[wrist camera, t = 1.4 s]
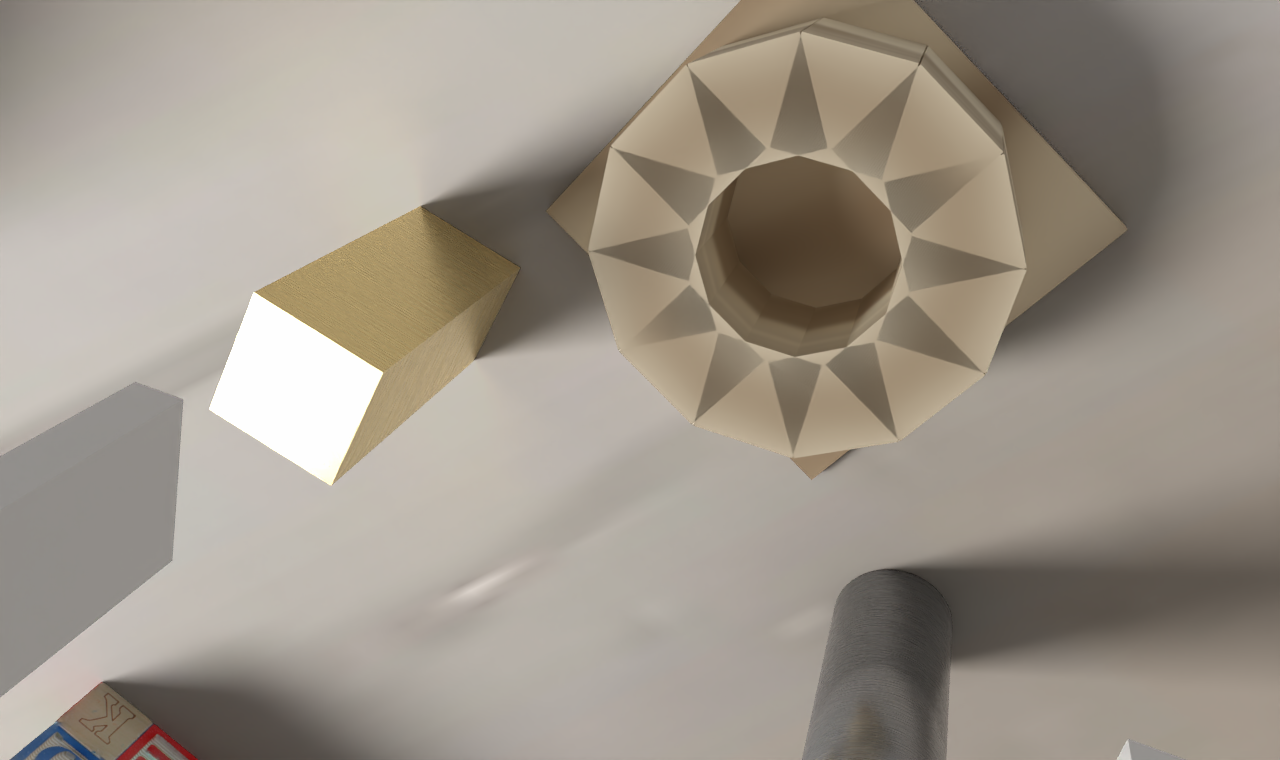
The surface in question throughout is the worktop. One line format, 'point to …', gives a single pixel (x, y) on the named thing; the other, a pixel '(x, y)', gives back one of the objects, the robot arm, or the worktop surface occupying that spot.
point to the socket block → (825, 226)
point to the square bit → (361, 340)
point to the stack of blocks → (103, 733)
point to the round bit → (884, 673)
